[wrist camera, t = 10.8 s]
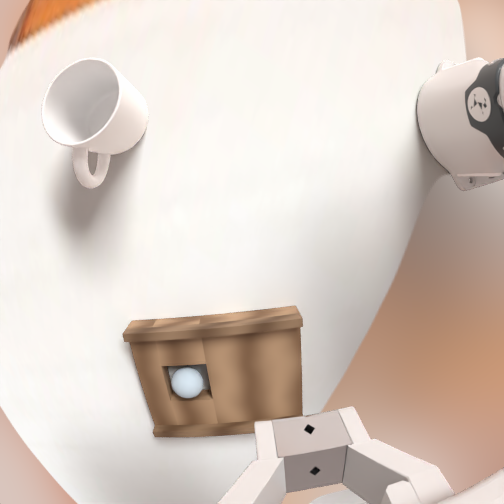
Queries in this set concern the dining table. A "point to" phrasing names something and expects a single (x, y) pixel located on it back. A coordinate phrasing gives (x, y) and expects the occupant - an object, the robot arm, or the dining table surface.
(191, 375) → the ball
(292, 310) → the wooden tray
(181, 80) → the dining table surface
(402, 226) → the dining table surface
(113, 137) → the mug
